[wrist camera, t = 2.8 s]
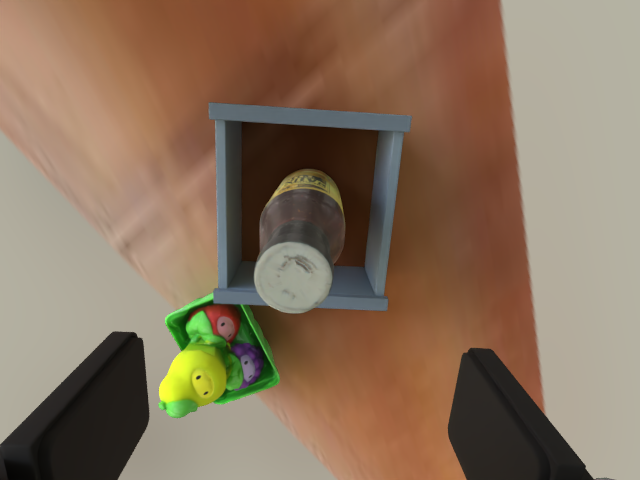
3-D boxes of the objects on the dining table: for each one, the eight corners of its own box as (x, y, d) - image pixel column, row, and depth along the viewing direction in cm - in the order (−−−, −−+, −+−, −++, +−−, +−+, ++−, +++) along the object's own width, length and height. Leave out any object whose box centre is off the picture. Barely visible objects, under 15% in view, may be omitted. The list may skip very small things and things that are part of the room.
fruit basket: (286, 354, 43) (278, 432, 32) (216, 379, 43) (185, 464, 33) (243, 268, 39) (218, 322, 29) (169, 298, 40) (117, 361, 29)
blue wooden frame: (231, 270, 39) (213, 303, 32) (230, 107, 35) (208, 102, 27) (373, 277, 40) (387, 311, 33) (391, 117, 35) (412, 115, 28)
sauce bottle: (324, 156, 36) (339, 190, 17) (348, 213, 38) (385, 303, 19) (263, 183, 37) (212, 244, 18) (290, 238, 38) (268, 348, 19)
